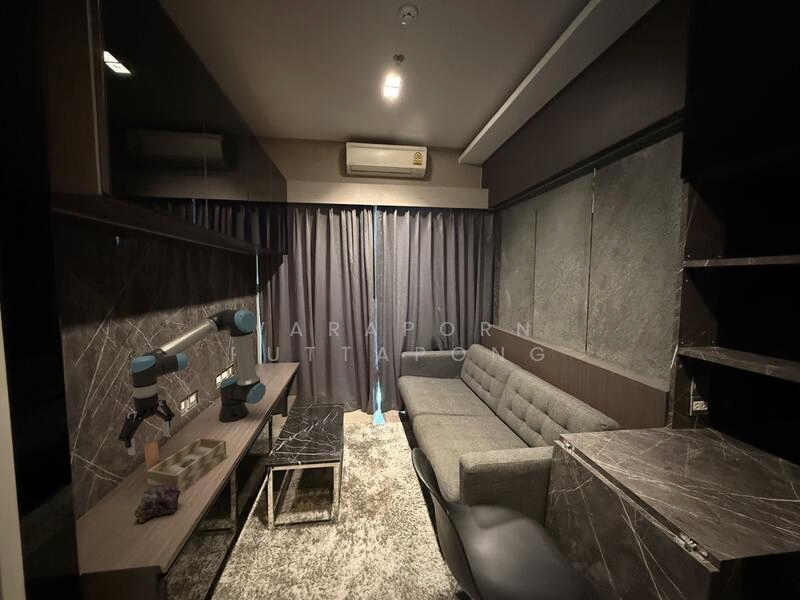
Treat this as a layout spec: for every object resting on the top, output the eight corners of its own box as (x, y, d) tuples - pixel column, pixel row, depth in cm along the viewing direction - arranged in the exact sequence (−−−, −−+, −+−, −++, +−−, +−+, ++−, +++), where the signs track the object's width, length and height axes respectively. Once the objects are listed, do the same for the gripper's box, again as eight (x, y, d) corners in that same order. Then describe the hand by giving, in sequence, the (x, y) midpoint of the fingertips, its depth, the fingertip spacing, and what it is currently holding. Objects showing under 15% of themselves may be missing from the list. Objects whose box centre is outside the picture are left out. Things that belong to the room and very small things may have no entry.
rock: (171, 521, 103) (183, 499, 112) (173, 498, 102) (185, 478, 112) (130, 525, 99) (146, 502, 109) (132, 501, 99) (148, 480, 108)
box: (201, 453, 139) (200, 437, 139) (226, 457, 136) (225, 440, 136) (148, 490, 116) (146, 471, 115) (177, 495, 113) (175, 476, 112)
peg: (155, 473, 126) (152, 440, 124) (163, 475, 125) (160, 441, 123) (144, 480, 122) (141, 446, 120) (152, 482, 121) (149, 447, 119)
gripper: (168, 383, 132) (172, 428, 134) (102, 407, 108) (107, 462, 110) (182, 384, 131) (185, 430, 133) (117, 409, 107) (122, 464, 108)
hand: (150, 444), depth 121 cm, fingers open, 13 cm apart
